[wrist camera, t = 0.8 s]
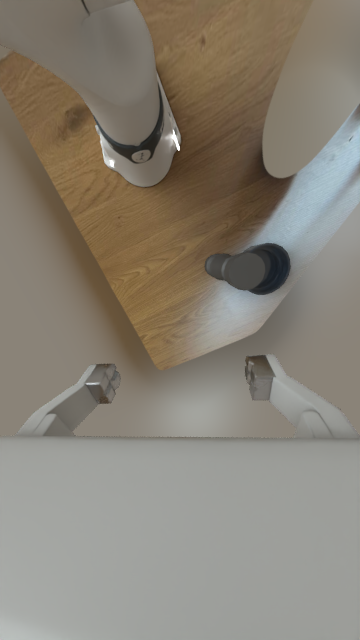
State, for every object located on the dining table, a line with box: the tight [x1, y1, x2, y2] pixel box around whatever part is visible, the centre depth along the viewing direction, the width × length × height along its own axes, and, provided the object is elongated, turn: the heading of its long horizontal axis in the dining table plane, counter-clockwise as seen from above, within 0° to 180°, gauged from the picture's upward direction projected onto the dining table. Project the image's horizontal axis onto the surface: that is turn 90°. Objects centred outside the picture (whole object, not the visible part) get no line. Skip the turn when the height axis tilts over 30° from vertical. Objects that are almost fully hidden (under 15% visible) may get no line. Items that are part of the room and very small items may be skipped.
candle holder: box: [205, 253, 265, 290], centre depth 39 cm, size 6×6×25 cm
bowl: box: [243, 243, 290, 295], centre depth 49 cm, size 13×13×6 cm
